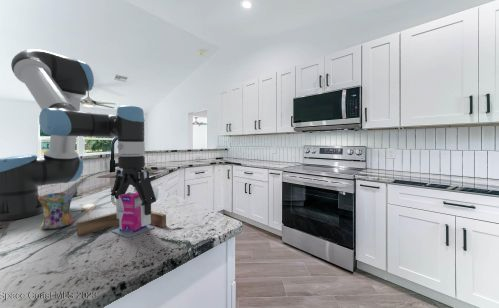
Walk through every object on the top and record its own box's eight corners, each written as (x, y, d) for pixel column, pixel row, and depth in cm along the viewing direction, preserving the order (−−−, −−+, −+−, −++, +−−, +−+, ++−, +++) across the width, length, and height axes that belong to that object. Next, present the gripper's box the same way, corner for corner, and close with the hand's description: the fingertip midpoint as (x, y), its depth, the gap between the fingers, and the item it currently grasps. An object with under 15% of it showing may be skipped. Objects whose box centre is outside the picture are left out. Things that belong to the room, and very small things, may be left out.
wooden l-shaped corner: (77, 235, 67) (76, 222, 67) (136, 217, 84) (136, 207, 84) (106, 248, 59) (106, 233, 59) (166, 226, 75) (165, 214, 75)
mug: (79, 224, 77) (78, 194, 76) (44, 233, 69) (43, 199, 68) (66, 218, 83) (65, 190, 83) (32, 226, 75) (31, 195, 75)
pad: (111, 231, 70) (111, 230, 70) (138, 223, 78) (138, 222, 78) (127, 238, 65) (127, 236, 65) (154, 228, 73) (154, 227, 73)
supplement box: (118, 231, 69) (117, 195, 69) (132, 224, 75) (131, 191, 75) (134, 233, 68) (133, 196, 68) (147, 226, 74) (146, 192, 73)
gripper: (98, 155, 74) (100, 217, 75) (145, 157, 61) (146, 232, 62) (121, 154, 80) (122, 212, 81) (167, 155, 68) (168, 224, 68)
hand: (133, 221), depth 72 cm, fingers open, 13 cm apart
